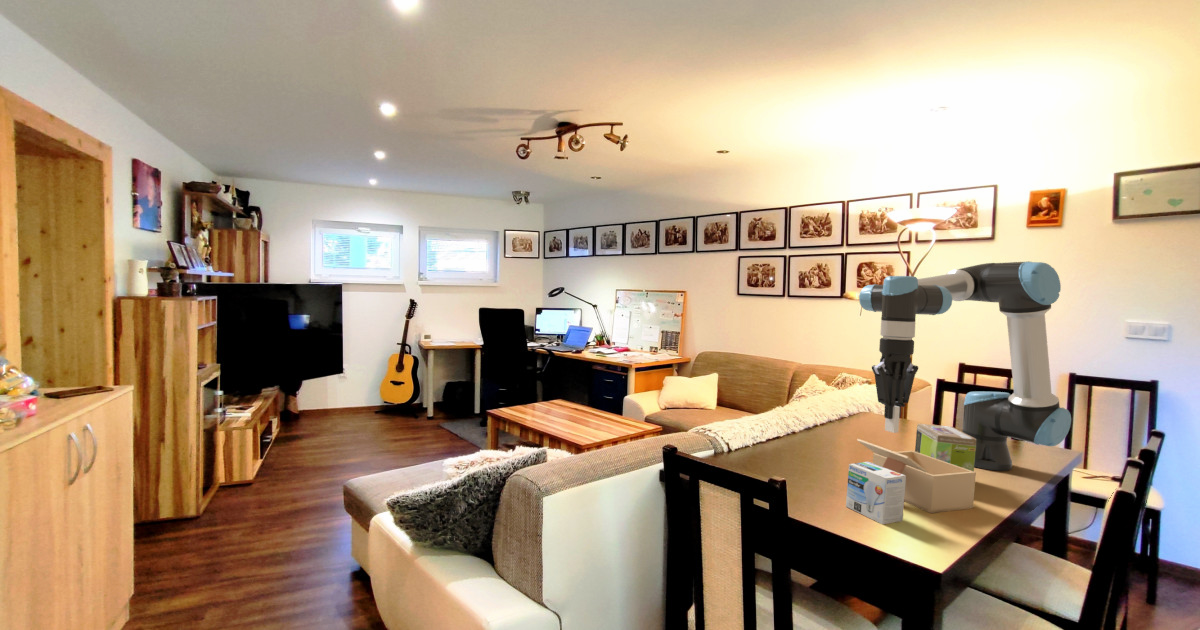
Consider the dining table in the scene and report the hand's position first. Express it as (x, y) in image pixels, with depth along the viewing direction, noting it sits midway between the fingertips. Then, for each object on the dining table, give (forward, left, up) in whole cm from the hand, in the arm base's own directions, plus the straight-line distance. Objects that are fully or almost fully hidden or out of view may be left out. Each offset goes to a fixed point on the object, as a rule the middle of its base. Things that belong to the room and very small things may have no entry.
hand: (891, 431), depth 135 cm
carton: (-11, 0, -18) cm, 21 cm away
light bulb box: (+10, +6, -18) cm, 22 cm away
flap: (0, 0, -6) cm, 6 cm away
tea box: (-29, -8, -18) cm, 35 cm away
